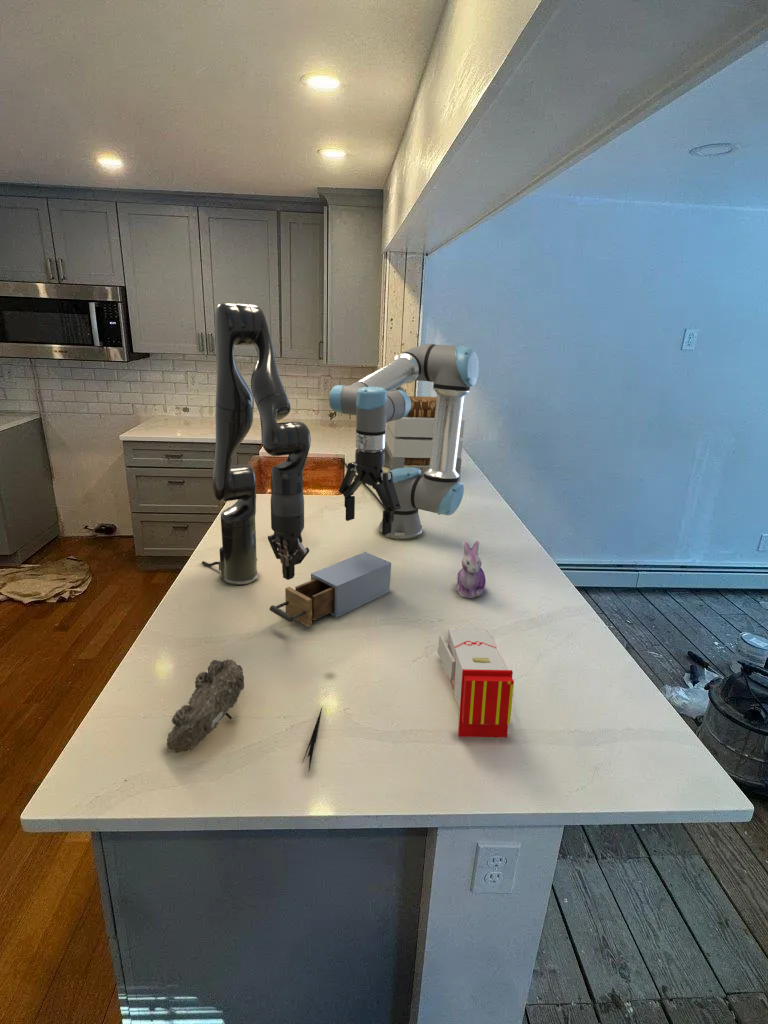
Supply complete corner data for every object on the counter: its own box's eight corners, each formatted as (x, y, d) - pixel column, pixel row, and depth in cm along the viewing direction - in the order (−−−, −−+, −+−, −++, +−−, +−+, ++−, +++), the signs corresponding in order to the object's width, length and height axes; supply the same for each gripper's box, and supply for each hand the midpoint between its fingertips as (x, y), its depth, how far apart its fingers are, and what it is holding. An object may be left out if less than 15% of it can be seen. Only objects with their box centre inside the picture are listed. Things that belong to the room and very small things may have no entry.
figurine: (467, 602, 155) (472, 552, 149) (446, 586, 163) (450, 538, 158) (494, 596, 159) (500, 546, 154) (473, 580, 167) (478, 533, 162)
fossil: (192, 660, 117) (244, 628, 112) (224, 691, 120) (276, 661, 115) (142, 746, 98) (202, 712, 93) (182, 779, 101) (242, 748, 96)
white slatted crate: (382, 463, 289) (386, 382, 275) (445, 464, 293) (451, 384, 279) (390, 482, 257) (394, 392, 243) (460, 483, 261) (468, 394, 247)
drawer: (291, 634, 134) (290, 608, 132) (268, 621, 140) (267, 595, 137) (363, 600, 152) (364, 575, 149) (341, 588, 157) (341, 565, 155)
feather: (331, 679, 122) (336, 673, 122) (307, 777, 96) (313, 769, 95) (324, 675, 122) (329, 669, 121) (298, 772, 95) (304, 764, 95)
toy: (488, 613, 130) (523, 677, 101) (484, 667, 133) (517, 744, 104) (435, 612, 130) (455, 676, 101) (432, 666, 133) (451, 743, 103)
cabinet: (336, 617, 144) (336, 586, 141) (310, 603, 151) (310, 573, 147) (389, 591, 159) (391, 562, 156) (364, 579, 165) (365, 551, 162)
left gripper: (256, 505, 131) (258, 573, 136) (293, 521, 122) (294, 592, 128) (282, 499, 136) (283, 564, 142) (319, 513, 128) (319, 582, 134)
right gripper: (326, 442, 150) (325, 517, 157) (397, 461, 134) (393, 543, 142) (346, 438, 155) (345, 511, 162) (417, 456, 140) (412, 535, 147)
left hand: (288, 578), depth 135 cm, fingers closed
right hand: (367, 526), depth 152 cm, fingers open, 13 cm apart
